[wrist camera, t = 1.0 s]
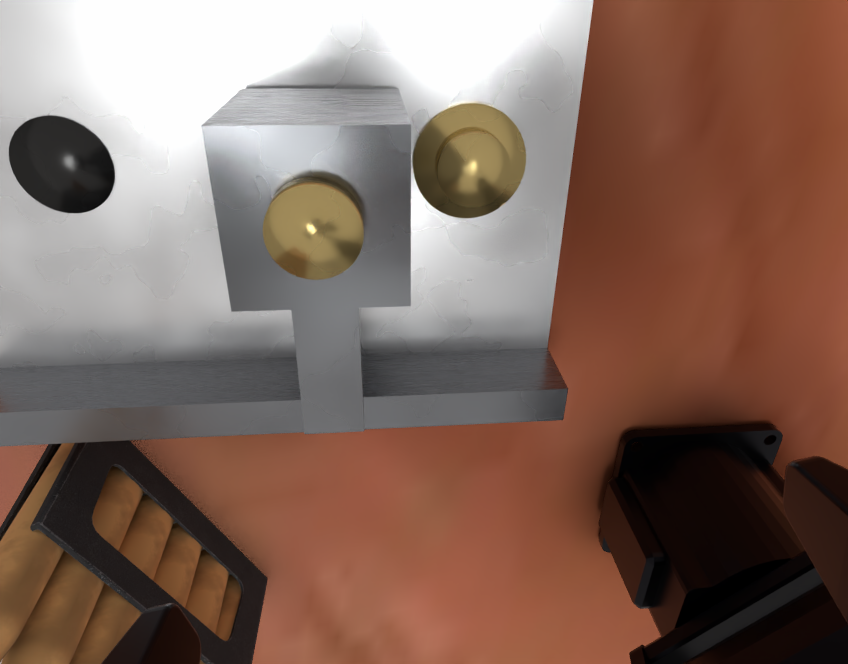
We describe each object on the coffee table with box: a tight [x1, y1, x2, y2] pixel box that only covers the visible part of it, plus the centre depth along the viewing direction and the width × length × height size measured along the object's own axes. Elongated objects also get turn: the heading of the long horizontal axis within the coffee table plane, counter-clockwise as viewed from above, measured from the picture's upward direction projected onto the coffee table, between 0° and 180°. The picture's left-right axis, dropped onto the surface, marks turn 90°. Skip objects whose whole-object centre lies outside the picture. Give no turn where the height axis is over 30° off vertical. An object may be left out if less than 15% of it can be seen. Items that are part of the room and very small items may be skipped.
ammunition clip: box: [0, 440, 267, 664], centre depth 19 cm, size 11×2×12 cm, turn 26°
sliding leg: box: [201, 88, 411, 434], centre depth 16 cm, size 4×8×5 cm, turn 179°
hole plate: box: [0, 0, 593, 446], centre depth 17 cm, size 18×13×3 cm
